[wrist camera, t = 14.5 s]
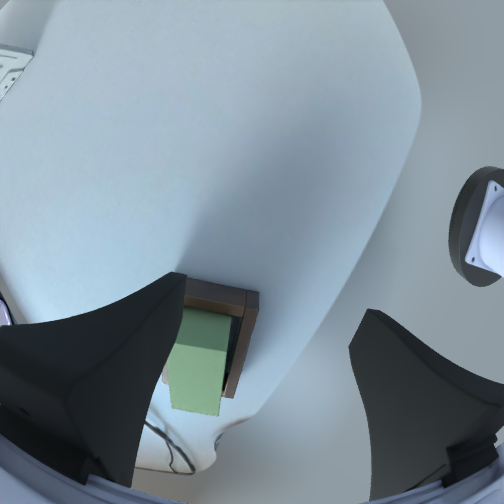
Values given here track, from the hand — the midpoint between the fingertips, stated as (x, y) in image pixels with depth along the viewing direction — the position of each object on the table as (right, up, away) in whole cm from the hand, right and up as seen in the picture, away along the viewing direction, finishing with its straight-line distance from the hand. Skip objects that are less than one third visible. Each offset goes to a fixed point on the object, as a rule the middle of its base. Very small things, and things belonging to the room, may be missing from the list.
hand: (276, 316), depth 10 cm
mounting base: (-5, -5, +13) cm, 15 cm away
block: (-5, -5, +13) cm, 15 cm away
